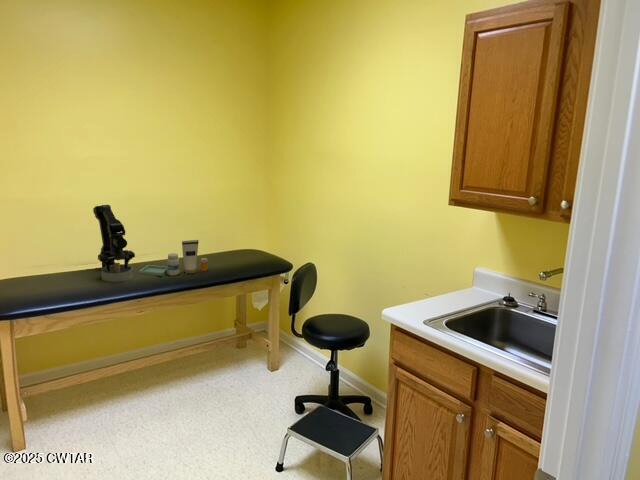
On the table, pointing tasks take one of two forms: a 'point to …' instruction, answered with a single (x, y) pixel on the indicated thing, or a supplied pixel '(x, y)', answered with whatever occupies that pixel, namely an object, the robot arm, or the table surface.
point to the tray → (154, 270)
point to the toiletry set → (186, 259)
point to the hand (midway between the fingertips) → (117, 270)
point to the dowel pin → (117, 267)
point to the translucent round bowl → (116, 277)
